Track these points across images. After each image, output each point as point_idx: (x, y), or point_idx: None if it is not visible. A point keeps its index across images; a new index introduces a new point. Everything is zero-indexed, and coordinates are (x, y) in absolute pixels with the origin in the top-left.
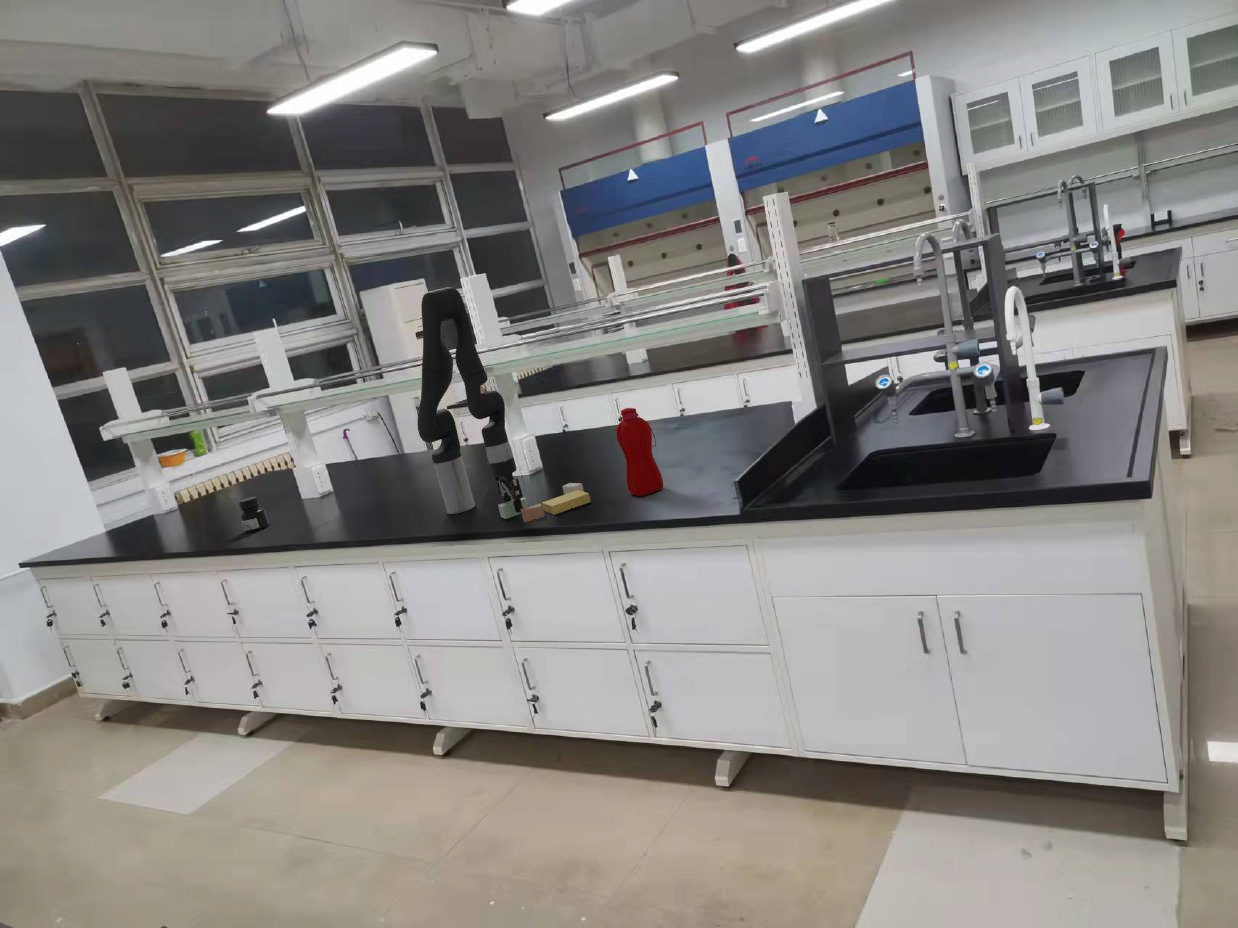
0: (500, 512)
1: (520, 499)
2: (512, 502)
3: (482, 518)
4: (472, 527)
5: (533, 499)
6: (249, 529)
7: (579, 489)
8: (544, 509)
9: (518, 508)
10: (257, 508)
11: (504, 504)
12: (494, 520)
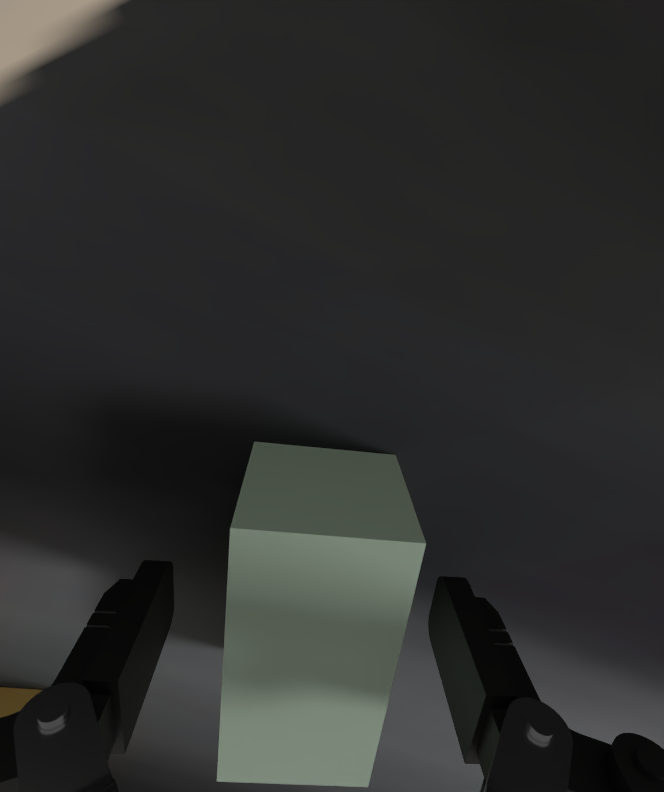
0: (378, 481)
1: (278, 745)
2: (275, 666)
3: (639, 338)
4: (449, 59)
5: None
6: None
7: None
8: None
9: (100, 608)
10: None
11: (322, 591)
12: (364, 362)
